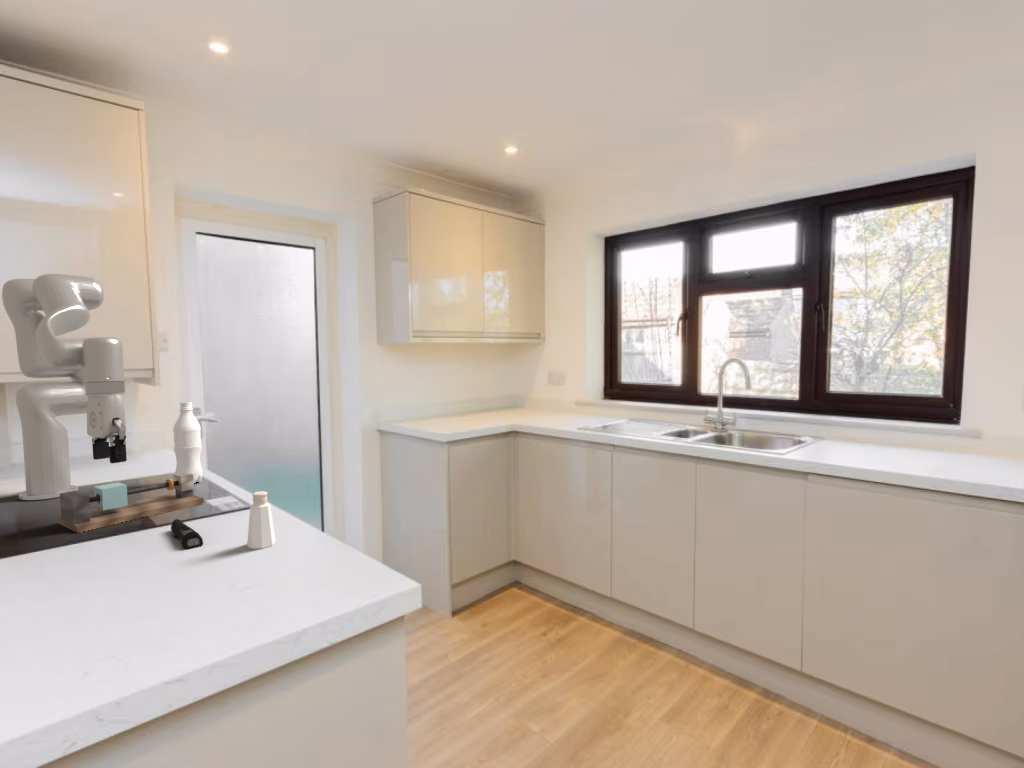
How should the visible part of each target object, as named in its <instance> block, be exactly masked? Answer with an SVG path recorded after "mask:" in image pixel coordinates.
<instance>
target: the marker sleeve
mask: <svg viewBox="0 0 1024 768" xmlns="http://www.w3.org/2000/svg"><path fill="white" fill-rule="evenodd" d="M127 490H128V484H125V483H122V482H117V481H116V482H112V483H111V482H110V483H107V484H106V483H105V484H100V485H95V486H93V497H95V496H100V501H95V502H93V503H94V508H96V509H101V510H107V509H112V508H117V507H122V506H126V505H128V503H129V502H128V495H127Z"/></svg>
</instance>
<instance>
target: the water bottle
mask: <svg viewBox="0 0 1024 768" xmlns="http://www.w3.org/2000/svg"><path fill="white" fill-rule="evenodd" d="M179 404H180V407H179V412H180V413H179V416H178V417H177V419H176V421H175V424H174V426H173V428H172V429H173V430H172V432H173V444H174V447H173V451H174V453H175V458H176V468H175V473H174V474H179V473H185V472H187V473H191V474H193V480H194V483H195V484H196V482H199V483H201V481H202V479H203V476H204V475H203V474H204V473H203V468H202V464H201V453H202V449H203V447H202V446H203V445H202V435H201V434H202V433H201V430H202V427H201V424H200V423H199V420H198V419H197V418H196V416H195V415H194V412H193V410H194V408H193V401H180V403H179Z"/></svg>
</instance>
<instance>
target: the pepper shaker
mask: <svg viewBox="0 0 1024 768" xmlns="http://www.w3.org/2000/svg"><path fill="white" fill-rule="evenodd" d="M252 501H253V502H252V504H251V505H250V507H249V517H248V519H249V520H248V530H247V531H248V533H247V542H246V543H247V544H246V545H247V547H248V548H249V549H251V550H262V549H266V547H267V548H269V547H273V546H274V545H275V543H276V542H277V540H276V534H275V527H274V520H273V513H272V506H271V503H269V502H268V492H267V491H262V490H261V491H255V492H254V493H252Z"/></svg>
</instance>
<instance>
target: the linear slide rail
mask: <svg viewBox="0 0 1024 768" xmlns="http://www.w3.org/2000/svg"><path fill="white" fill-rule="evenodd" d="M194 485H195V484H194V480H193V474H191V473H187V472H185V473H179V474H175V473H174V474H173V479H172V478H168V479H166V480H165V482H163V483H158V484H152V485H148V486H142V487H137V488H132V489H127V496H130V495H134V494H135V495H137V494H140V493H146V492H150V491H156V490H160V489H166V490H167V491H171V490H175V492H172V493H167V494H163V495H158V496H153V497H149V498H145V499H139V500H135V501H129V502H128V505H126V506H122V507H117V508H112V509H107V510H101V509H98V508H96V509H92V510H91V509H90V503H94V502H95V501H100V496H95V497H94V496H90V495H89V494H86V493H83V492H82V491H79V490H78V491H70V492H64V493H60V497H59V501H60V503H59V504H60V516H58V517H57V518H58V520H57V521H58V524H59V525H60V526H63V527H65V528H67V529H69V530H71V531H72V532H75V533H77V534H80V533H84V532H83V531H85V532H87V531H88V530H89V531H92V529H93V530H96V529H97V528H98V529H101V527H102V528H105V526H106V527H110V526H114V525H113V524H115V525H119V524H122V523H121V522H123V523H126V522H125V521H128V522H130V521H129V520H132V521H134V520H133V519H136V520H139V519H138V518H140V519H142V518H141V517H145V516H149V515H153V514H157V513H162V512H166V513H169V512H168V511H170V512H174V511H173V510H175V511H178V510H177V509H179V510H181V509H182V508H183V509H187V508H191V506H192V507H195V505H196V506H200V505H203V504H202V503H205V498H204V497H202V496H201V497H200V496H198V495H195V494H194V489H195V488H194V487H195V486H194ZM199 504H200V505H199ZM186 507H187V508H186ZM183 509H182V510H183ZM162 514H163V513H162ZM153 516H154V515H153ZM149 517H150V516H149ZM145 518H146V517H145ZM118 523H119V524H118ZM109 525H110V526H109ZM79 532H80V533H79Z"/></svg>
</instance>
